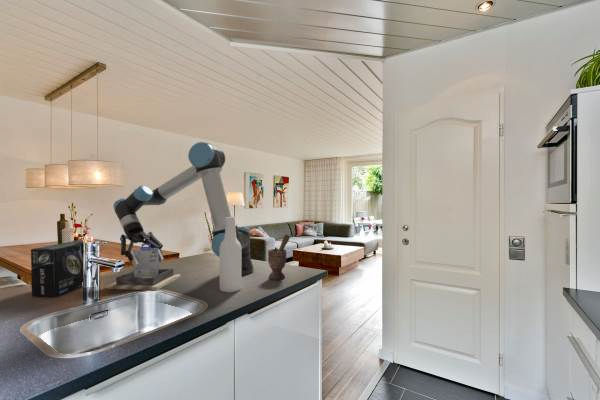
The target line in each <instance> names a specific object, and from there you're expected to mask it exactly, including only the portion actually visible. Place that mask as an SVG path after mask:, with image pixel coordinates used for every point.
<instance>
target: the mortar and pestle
mask: <svg viewBox="0 0 600 400" xmlns="http://www.w3.org/2000/svg"><path fill="white" fill-rule="evenodd" d="M289 240H290V235H288V234H284V236H283V237H282V240H281V244H280V246H279V248H272V249H271V248H270V249H268V250H267V261H268V265H269V268H270V269H271V273H269V276H268V279H269V280H275V281H277V280H278V281H279V280H283V279H285V278H286V277H285V274H284V273H283V269H284V268H285V266H286V262H287V250H286V249H285V248H286V246H287V244H288V243H289Z"/></svg>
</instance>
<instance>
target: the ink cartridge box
mask: <svg viewBox="0 0 600 400" xmlns="http://www.w3.org/2000/svg"><path fill="white" fill-rule="evenodd" d="M148 245H149V246H148ZM133 253H134V255H135V257H136V260H137V262H138V265H137V267H136V268H134V267H133V271H134V277H153V276H157V275H158V269H159V264H160V262H159V259H158V248H151V246H150V243H149V244H144V243H141V249H134V250H133Z"/></svg>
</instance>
